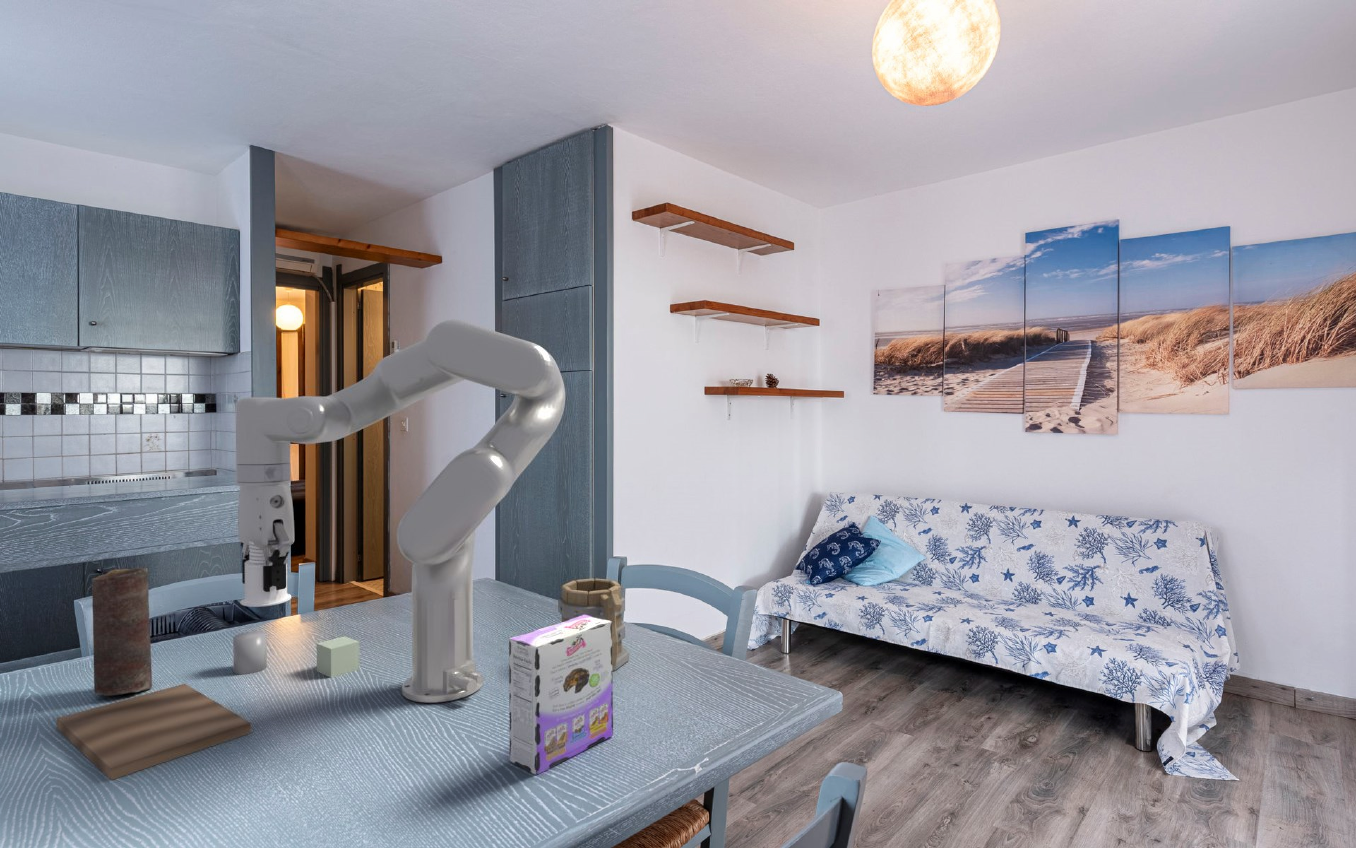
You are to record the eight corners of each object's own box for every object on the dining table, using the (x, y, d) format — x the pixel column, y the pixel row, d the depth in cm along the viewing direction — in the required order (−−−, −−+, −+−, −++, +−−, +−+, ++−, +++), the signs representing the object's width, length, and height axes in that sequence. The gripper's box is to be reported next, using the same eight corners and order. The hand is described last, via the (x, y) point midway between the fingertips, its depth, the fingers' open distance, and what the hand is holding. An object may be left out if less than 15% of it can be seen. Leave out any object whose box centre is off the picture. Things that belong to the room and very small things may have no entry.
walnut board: (250, 733, 100) (250, 722, 100) (111, 780, 88) (110, 768, 88) (185, 693, 115) (184, 683, 115) (56, 728, 102) (56, 718, 102)
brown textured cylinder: (118, 704, 110) (116, 576, 110) (80, 700, 112) (78, 574, 111) (163, 686, 118) (161, 566, 117) (127, 682, 119) (125, 564, 119)
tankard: (549, 655, 133) (549, 575, 132) (614, 646, 138) (613, 569, 137) (577, 694, 114) (577, 601, 114) (651, 682, 119) (650, 593, 119)
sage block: (359, 669, 125) (359, 641, 125) (331, 678, 121) (331, 649, 121) (344, 663, 128) (344, 636, 128) (316, 671, 124) (316, 643, 124)
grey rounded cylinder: (271, 668, 126) (271, 634, 126) (241, 676, 122) (240, 642, 122) (259, 662, 129) (258, 629, 129) (228, 670, 125) (228, 636, 125)
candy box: (585, 725, 103) (585, 612, 103) (614, 737, 99) (614, 620, 99) (507, 762, 92) (506, 636, 92) (536, 776, 88) (536, 645, 88)
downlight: (234, 600, 113) (234, 538, 113) (283, 592, 118) (283, 532, 118) (247, 612, 108) (247, 547, 107) (297, 603, 113) (298, 541, 112)
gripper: (313, 476, 110) (314, 590, 111) (265, 470, 121) (265, 574, 121) (262, 480, 104) (262, 600, 105) (215, 473, 115) (216, 582, 115)
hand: (264, 585), depth 113 cm, fingers closed on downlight, 7 cm apart
